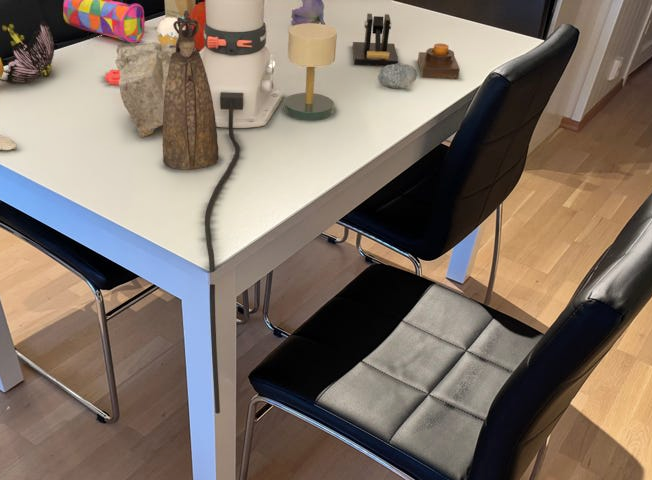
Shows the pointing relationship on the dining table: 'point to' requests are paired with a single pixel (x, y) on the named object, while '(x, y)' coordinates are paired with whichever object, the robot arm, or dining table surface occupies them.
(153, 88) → the stone
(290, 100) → the lamp
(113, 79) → the building block
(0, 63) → the potato
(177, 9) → the cosmetic box
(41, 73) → the decorative flower
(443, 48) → the button
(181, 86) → the statue
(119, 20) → the pencil case
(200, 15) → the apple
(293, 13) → the flower
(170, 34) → the ornament
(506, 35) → the dining table surface
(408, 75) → the grey rock
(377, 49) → the switch lever
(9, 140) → the arrowhead
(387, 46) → the switch bracket
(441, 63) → the button block
